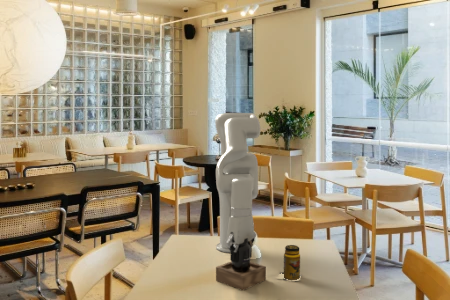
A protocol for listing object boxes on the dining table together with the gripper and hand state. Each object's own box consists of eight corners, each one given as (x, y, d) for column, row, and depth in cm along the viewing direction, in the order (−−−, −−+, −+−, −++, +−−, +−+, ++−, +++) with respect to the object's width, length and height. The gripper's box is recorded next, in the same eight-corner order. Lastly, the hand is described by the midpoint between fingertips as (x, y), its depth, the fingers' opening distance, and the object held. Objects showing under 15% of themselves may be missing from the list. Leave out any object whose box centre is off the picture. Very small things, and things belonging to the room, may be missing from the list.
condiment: (299, 282, 180) (299, 250, 179) (276, 279, 183) (276, 248, 181) (302, 275, 187) (302, 244, 186) (280, 272, 190) (280, 242, 188)
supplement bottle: (248, 272, 177) (249, 240, 176) (230, 271, 178) (230, 239, 177) (251, 266, 184) (252, 235, 182) (233, 264, 185) (233, 233, 184)
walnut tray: (239, 271, 191) (239, 258, 190) (265, 280, 182) (266, 266, 181) (216, 280, 181) (216, 266, 180) (242, 290, 172) (242, 276, 172)
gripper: (249, 206, 187) (248, 251, 190) (217, 214, 175) (217, 262, 177) (264, 209, 182) (263, 255, 184) (233, 218, 170) (232, 267, 172)
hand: (241, 258), depth 181 cm, fingers closed on supplement bottle, 6 cm apart
